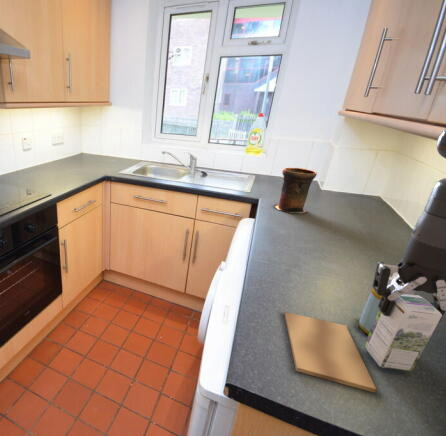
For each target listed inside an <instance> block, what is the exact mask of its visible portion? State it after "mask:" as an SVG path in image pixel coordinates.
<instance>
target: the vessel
mask: <svg viewBox="0 0 446 436" xmlns="http://www.w3.org/2000/svg"><path fill="white" fill-rule="evenodd" d="M281 173H282V176H283V182H282V186H281V190H280V191H281V192H280V196H279V200H278V201H279V202H278V204H277V205H275V209H277V210H280V211H283V212H285V213H292V214H304V213H306V212H308V211H307V210H306V209H304V207H305V204H306V202H307V199H308V194H309V191H310V187H311V185H312V183H313V180H314V179H315V178H316V177H317V176H318V175H317V174H318V173H317V171H315V170H312V169H307V168H301V167H284V168H283V169H282V172H281Z"/></svg>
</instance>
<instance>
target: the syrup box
mask: <svg viewBox="0 0 446 436" xmlns="http://www.w3.org/2000/svg"><path fill="white" fill-rule="evenodd" d="M430 303H431V302H429V301H428V300H427V299H425V298H424V297H422V296H421V295H416V294H414V295H408V294H402V295H401V296H400V297H398V298H397V299H395V304H394V306H393V309H392V311H391V313H390V316H384V315H383V314H382V312H381V311H380V310H379V312H378V315H377V317H376V319H375V322H374V324H373V326H372V329H371V331H370V333H369V335H368V334H367V338H366V341H365V343H364V345H363V346H364V349H365V350H366V351H367V352H368V353H369V355H370V357H372V359H373V360H374V361H375V363H376V364H377V365H378V366H379V367H380V368H382V369H391V370H397V371H403V372H413V370H414V369H415V366H416V364H417V363H418V361H419V359H420V357H421V355H422V354H423V352H424V350H425V348H426V347H427V345H428V343H429V340H430V338H431V337H432V336H433V333H434V331H435V329H436V328H437V326H438V324H439V323H440V322H439V320H440V318H441V317H442V314H441V313H440V312H439V311H438V310H437V309H436V308H435V307H434V306H433V305H431V304H430ZM442 318H443V317H442ZM438 322H439V323H438Z"/></svg>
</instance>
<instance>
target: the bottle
mask: <svg viewBox="0 0 446 436" xmlns="http://www.w3.org/2000/svg"><path fill="white" fill-rule="evenodd" d="M397 276H399V274H398V272H395V273H394V274H393V276H392V277H389V280H388V285H390V284H391V281H392V280H393V279H395V278H396V277H397ZM388 285H387V286H388ZM403 285H405V284H404V283H402V286H403ZM415 293H416V291H414V290H411V291H410V292H409V293H407V294H408V295H415ZM381 297H382V296H380V295H378V294H377V292H376V291H375V289H374V288H373V287H372V289H371V290H370V293H369V295H368V298H367V300H366V304H365V306H364V308H363V311H362V313H361V316H360V318H359V321H358V325H359V327H360V329H361V331H363V332H364V333H365V334H366V335H367V336H368V335H369V333H370V331H371V329H372V326H373V324H374V322H375V319H376V317H377V315H378V312H379V310H380V309H379V308H378V305H379V302H380V300H381Z"/></svg>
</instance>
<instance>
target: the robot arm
mask: <svg viewBox="0 0 446 436" xmlns="http://www.w3.org/2000/svg"><path fill="white" fill-rule="evenodd" d="M436 151H437V153H438V154H439V155H440V156H441V157H442V158H444V159H446V127H445V129H444V130H442V132H441V133H440V135H439V137H438V139H437V141H436ZM395 272H398V274H399V276H397V277H396V278H395V279H393V280H392V281H391V284H390V285H388V280H389V277H392V276H393V274H394V273H395ZM402 283H404V284H405V285H403V286H402ZM387 285H388V286H387ZM373 288H374V289H375V291H376V292H377V294H378V295H380V296H382V297H381V300H380V302H379V305H378V308H379V309H380V311H381V312H382V314H383V315H384V316H390V313H391V311H392V309H393V306H394V304H395V299H397V298H398V297H400V296H401V295H402V294H407V293H409V292H410V291H411V290H414V291H415V292H424V293H426V294H431V297H432V301H433V302H429V303H430V304H431V305H433V306H434V307H435V308H436V309H437V310H438V311H439V312H440V313H441V314H442V317H441V318H440V320H439V322H438V324H439V323H440V322H441V320H442V318H443V317H444V315H445V313H446V177H444V178H441V179H440V180H438V181H437V182H435V184H434V186H433V188H432V190H431V192H430V195H429V197H428V199H427V202H426V204H425V206H424V209H423V211H422V213H421V215H420V216H419V217H418V219H417V221H416V223H415V226H414V227H413V229H412V232H411V235H410V238H409V239H408V242H407V244H406V247H405V249H404V252H403V256H402V259H401V261H400V262H398V263H397V264H396V265H395V264H386V263H385V262H384V261H379V262H377V264H376V267H375V273H374V277H373V281H372V289H373Z"/></svg>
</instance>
